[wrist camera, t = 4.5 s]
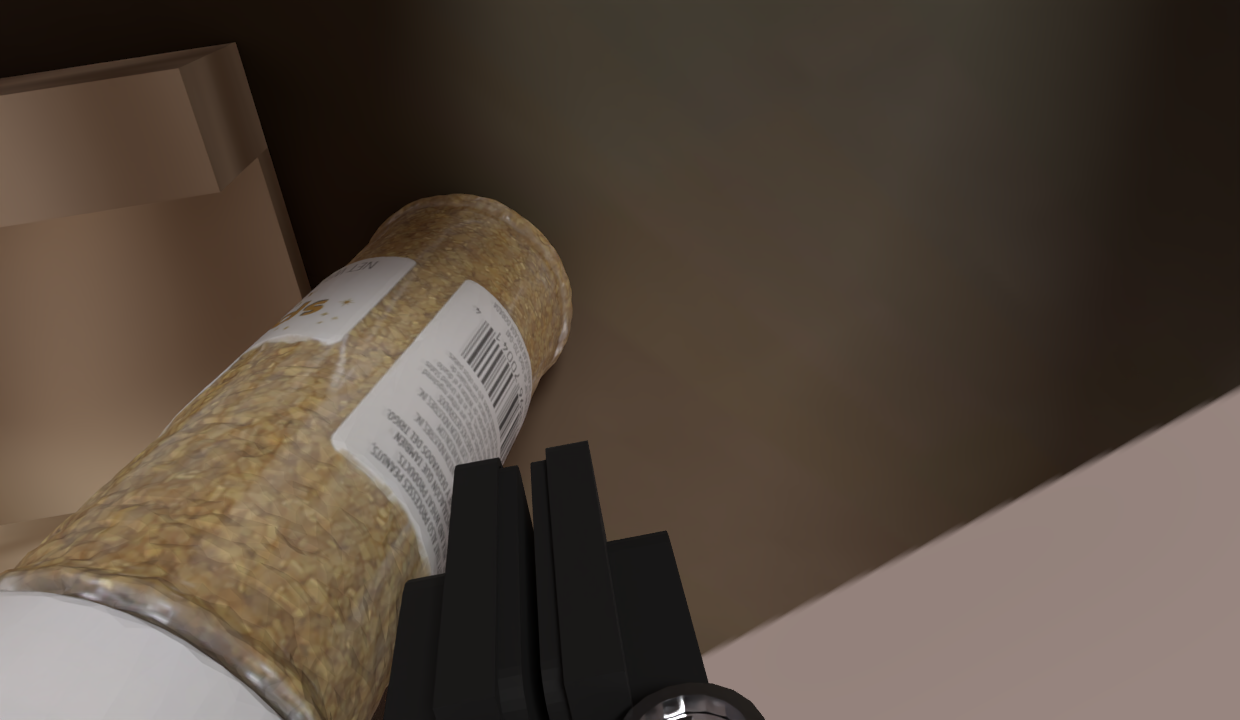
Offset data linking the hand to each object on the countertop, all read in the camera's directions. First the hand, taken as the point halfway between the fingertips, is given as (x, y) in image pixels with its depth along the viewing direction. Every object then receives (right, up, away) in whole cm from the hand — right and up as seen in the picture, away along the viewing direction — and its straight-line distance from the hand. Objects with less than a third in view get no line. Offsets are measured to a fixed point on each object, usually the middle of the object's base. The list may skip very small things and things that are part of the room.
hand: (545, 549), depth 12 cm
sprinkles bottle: (-2, +4, +8) cm, 9 cm away
